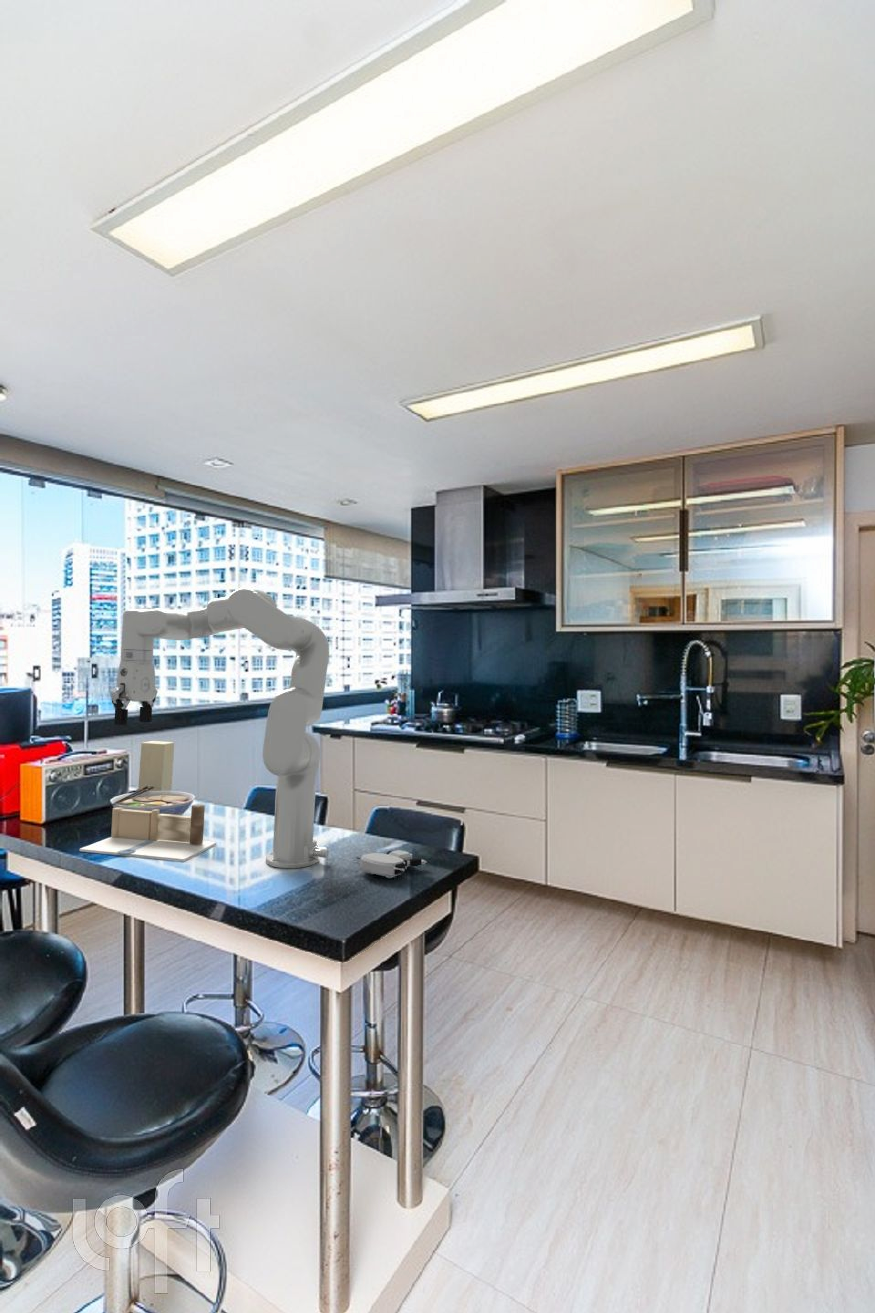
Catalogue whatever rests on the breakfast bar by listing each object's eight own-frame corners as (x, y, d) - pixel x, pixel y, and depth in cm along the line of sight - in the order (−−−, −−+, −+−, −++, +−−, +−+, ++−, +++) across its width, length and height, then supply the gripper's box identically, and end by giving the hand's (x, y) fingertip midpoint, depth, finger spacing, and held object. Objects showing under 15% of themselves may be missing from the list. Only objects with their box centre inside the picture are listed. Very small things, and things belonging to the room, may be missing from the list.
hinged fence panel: (205, 841, 160) (207, 804, 160) (198, 844, 157) (200, 807, 157) (161, 837, 162) (163, 801, 162) (154, 840, 159) (156, 803, 159)
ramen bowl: (173, 836, 167) (175, 806, 167) (89, 833, 167) (91, 803, 167) (207, 815, 192) (208, 788, 192) (133, 812, 192) (135, 785, 192)
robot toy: (389, 863, 155) (349, 874, 142) (390, 845, 155) (351, 854, 142) (429, 874, 148) (391, 886, 135) (430, 855, 148) (393, 865, 136)
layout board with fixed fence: (216, 844, 161) (218, 812, 161) (181, 863, 145) (183, 827, 145) (119, 835, 165) (121, 804, 166) (75, 852, 150) (77, 817, 150)
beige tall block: (172, 805, 203) (175, 741, 204) (160, 809, 196) (163, 744, 196) (149, 803, 204) (153, 740, 204) (136, 808, 197) (140, 742, 197)
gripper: (128, 656, 149) (124, 727, 149) (169, 658, 166) (166, 721, 166) (100, 655, 151) (96, 725, 150) (144, 657, 168) (141, 720, 167)
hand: (133, 723), depth 158 cm, fingers open, 9 cm apart
